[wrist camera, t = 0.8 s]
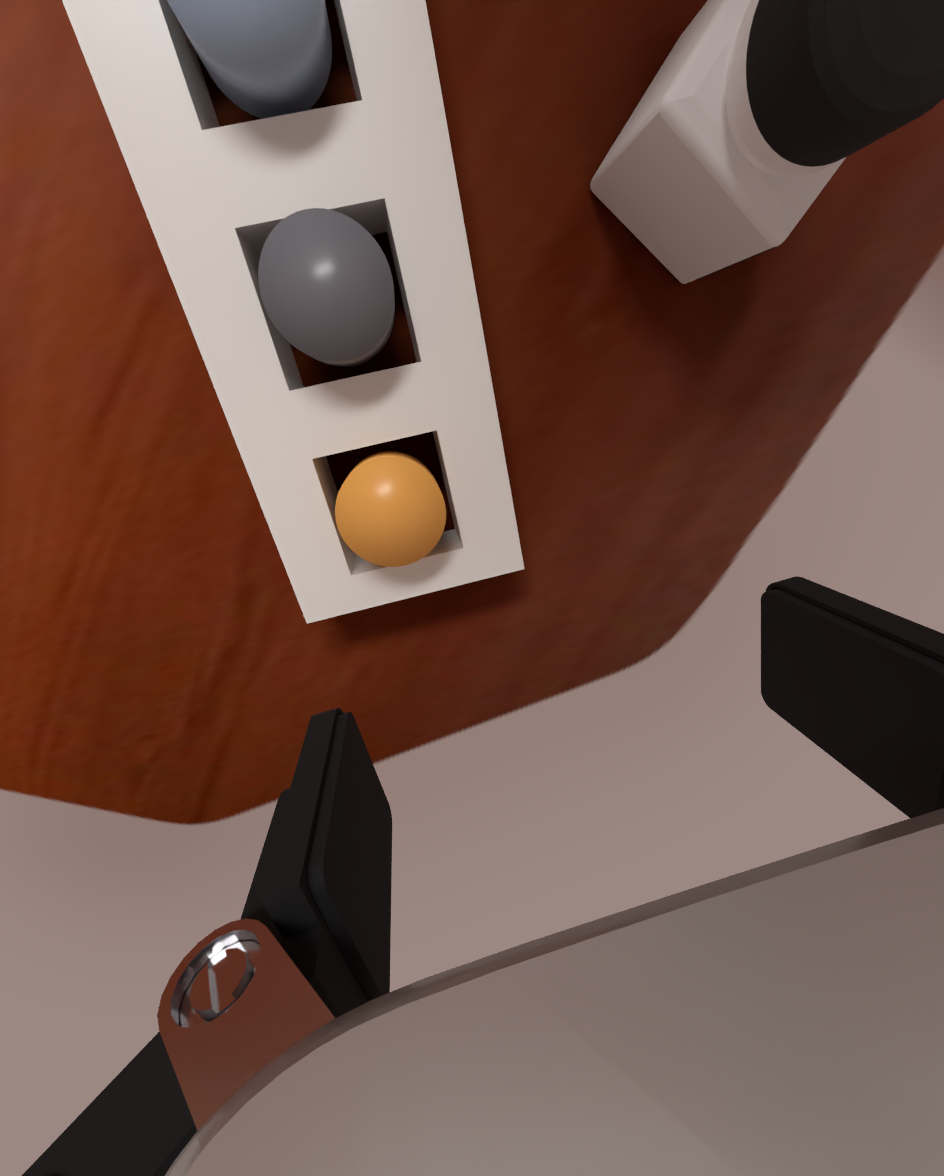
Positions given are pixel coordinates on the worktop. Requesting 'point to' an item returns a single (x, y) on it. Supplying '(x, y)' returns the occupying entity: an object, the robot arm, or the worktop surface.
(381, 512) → the orange button
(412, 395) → the frame
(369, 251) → the charcoal button
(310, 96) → the slate button
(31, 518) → the worktop surface
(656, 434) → the worktop surface
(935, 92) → the medicine bottle
